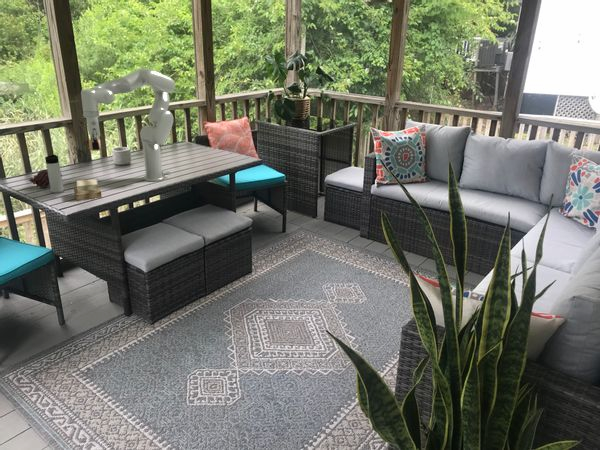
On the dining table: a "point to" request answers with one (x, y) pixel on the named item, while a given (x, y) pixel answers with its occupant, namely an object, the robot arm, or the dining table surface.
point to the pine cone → (41, 179)
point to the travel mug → (54, 174)
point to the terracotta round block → (92, 147)
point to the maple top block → (87, 186)
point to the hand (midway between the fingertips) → (95, 148)
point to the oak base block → (87, 195)
